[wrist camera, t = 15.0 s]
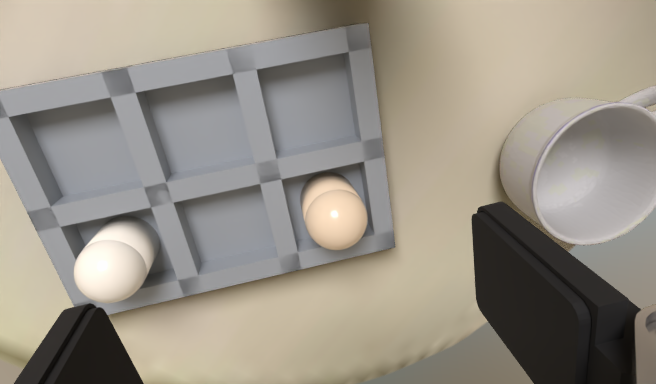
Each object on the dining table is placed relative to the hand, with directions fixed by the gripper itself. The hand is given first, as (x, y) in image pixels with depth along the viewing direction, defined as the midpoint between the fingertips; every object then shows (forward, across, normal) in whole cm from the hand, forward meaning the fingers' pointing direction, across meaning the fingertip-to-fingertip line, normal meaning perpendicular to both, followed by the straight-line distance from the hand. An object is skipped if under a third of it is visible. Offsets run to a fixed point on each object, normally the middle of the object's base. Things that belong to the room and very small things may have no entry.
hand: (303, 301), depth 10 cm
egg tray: (+23, +6, +4) cm, 24 cm away
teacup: (+24, -23, +8) cm, 35 cm away
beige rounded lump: (+22, -2, +8) cm, 24 cm away
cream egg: (+22, +14, +7) cm, 27 cm away
